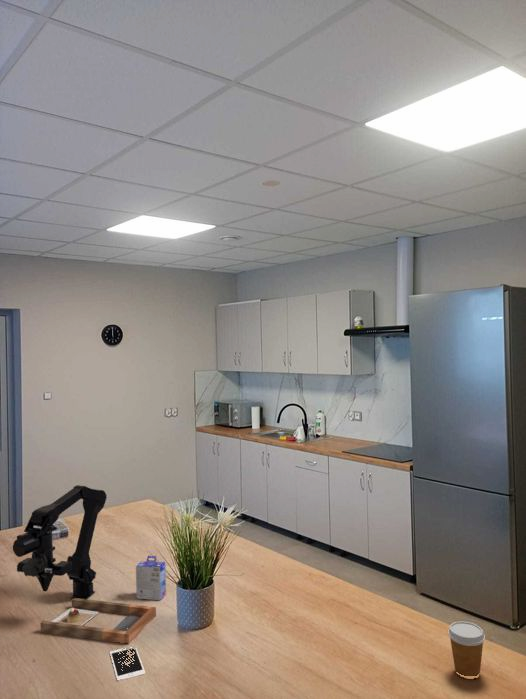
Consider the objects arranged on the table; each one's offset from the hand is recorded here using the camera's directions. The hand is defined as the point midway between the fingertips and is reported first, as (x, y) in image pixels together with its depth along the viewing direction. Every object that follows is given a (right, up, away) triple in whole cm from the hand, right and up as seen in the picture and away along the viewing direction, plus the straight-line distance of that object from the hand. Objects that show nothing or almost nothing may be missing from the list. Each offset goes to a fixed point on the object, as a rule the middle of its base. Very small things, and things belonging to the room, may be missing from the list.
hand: (45, 591), depth 187 cm
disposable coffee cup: (+131, -5, -39) cm, 137 cm away
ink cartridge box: (+34, -8, +13) cm, 37 cm away
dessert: (+11, -9, -3) cm, 15 cm away
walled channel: (+21, -8, -6) cm, 23 cm away
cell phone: (+36, -9, -29) cm, 47 cm away
